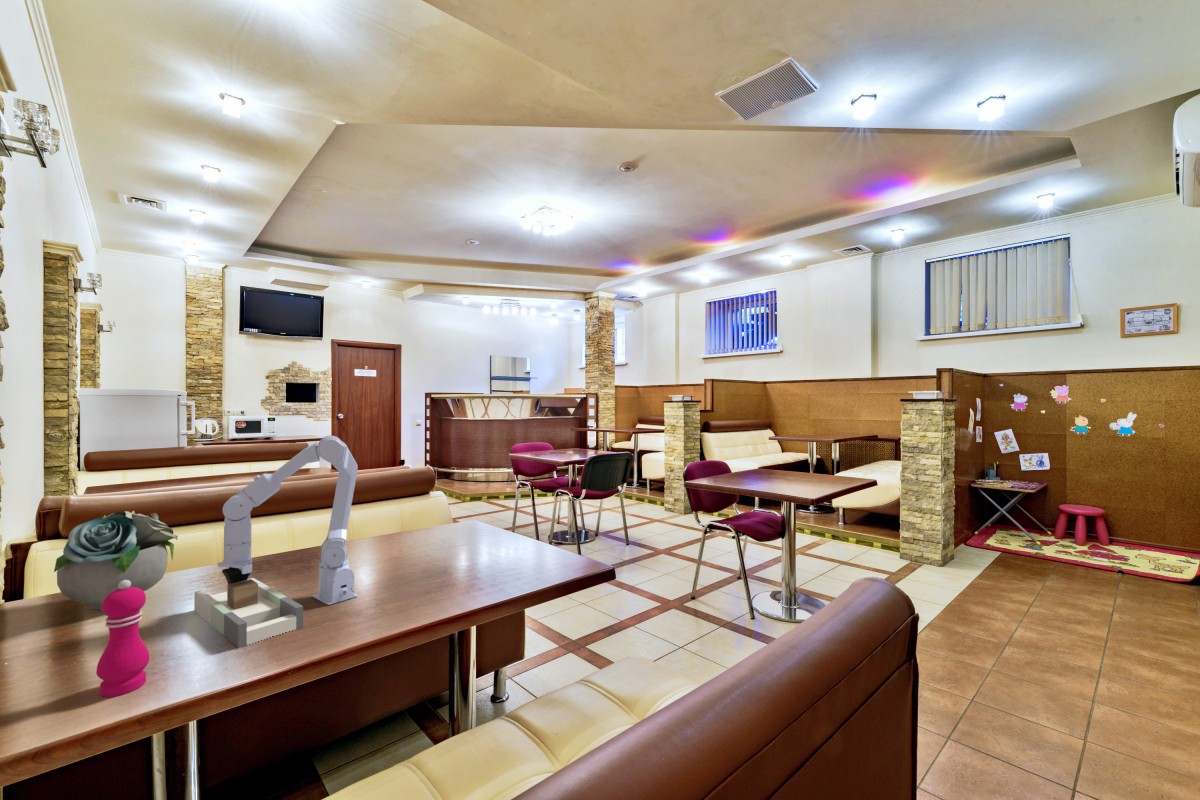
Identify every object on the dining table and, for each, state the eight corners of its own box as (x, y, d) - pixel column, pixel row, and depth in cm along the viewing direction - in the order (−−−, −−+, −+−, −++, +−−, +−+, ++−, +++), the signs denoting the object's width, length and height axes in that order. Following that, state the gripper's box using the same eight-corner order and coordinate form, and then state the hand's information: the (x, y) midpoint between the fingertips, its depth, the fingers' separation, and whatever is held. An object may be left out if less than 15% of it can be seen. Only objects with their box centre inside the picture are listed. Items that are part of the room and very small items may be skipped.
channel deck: (303, 627, 119) (303, 606, 119) (238, 648, 109) (238, 624, 109) (253, 595, 139) (253, 577, 139) (194, 611, 129) (194, 591, 129)
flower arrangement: (199, 592, 142) (200, 505, 142) (88, 630, 118) (89, 525, 118) (136, 583, 148) (137, 500, 149) (19, 618, 124) (20, 519, 125)
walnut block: (257, 603, 126) (258, 583, 126) (233, 609, 122) (234, 589, 122) (250, 598, 129) (250, 578, 129) (227, 604, 125) (227, 584, 125)
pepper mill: (145, 673, 99) (146, 571, 99) (153, 686, 94) (154, 579, 95) (93, 689, 93) (94, 580, 94) (98, 703, 89) (100, 589, 89)
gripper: (209, 541, 130) (208, 594, 129) (228, 551, 121) (227, 608, 121) (241, 535, 135) (241, 586, 135) (262, 544, 126) (261, 599, 126)
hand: (237, 596), depth 128 cm, fingers closed
